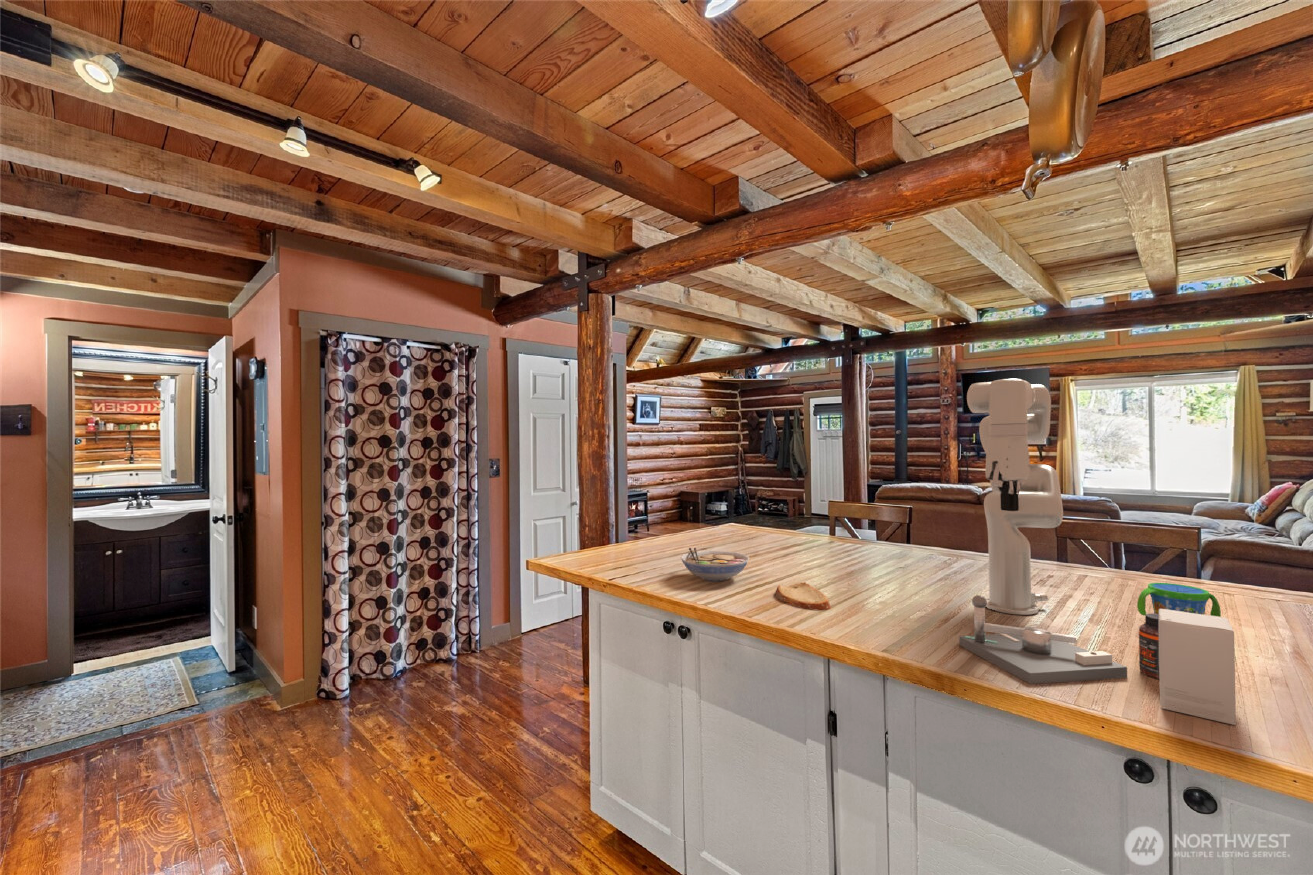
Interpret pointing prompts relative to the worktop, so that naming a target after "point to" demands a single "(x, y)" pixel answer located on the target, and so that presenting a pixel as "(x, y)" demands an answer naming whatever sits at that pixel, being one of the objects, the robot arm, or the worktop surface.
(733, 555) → the ramen bowl
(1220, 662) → the supplement box
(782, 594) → the bread slice
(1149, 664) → the supplement bottle
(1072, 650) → the stand
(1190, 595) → the snack cup
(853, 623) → the worktop surface
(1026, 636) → the metal crank lever
